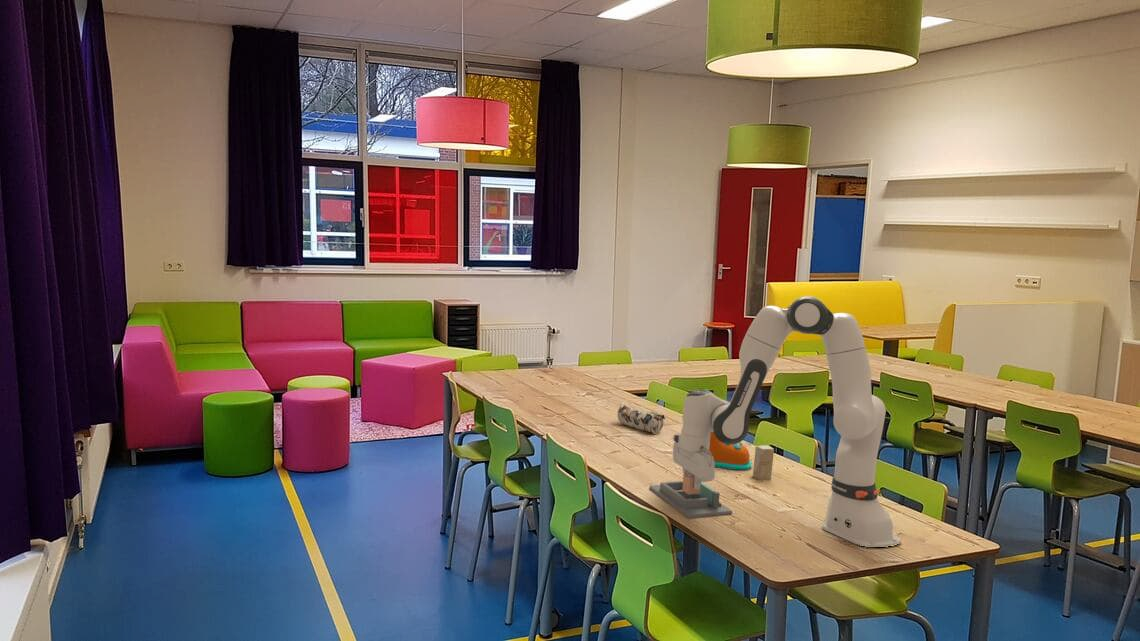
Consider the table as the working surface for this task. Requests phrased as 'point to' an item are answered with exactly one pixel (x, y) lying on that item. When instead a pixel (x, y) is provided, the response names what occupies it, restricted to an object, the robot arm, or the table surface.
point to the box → (763, 462)
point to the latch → (706, 492)
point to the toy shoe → (729, 454)
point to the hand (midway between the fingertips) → (691, 485)
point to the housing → (689, 501)
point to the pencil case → (640, 418)
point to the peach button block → (689, 484)
